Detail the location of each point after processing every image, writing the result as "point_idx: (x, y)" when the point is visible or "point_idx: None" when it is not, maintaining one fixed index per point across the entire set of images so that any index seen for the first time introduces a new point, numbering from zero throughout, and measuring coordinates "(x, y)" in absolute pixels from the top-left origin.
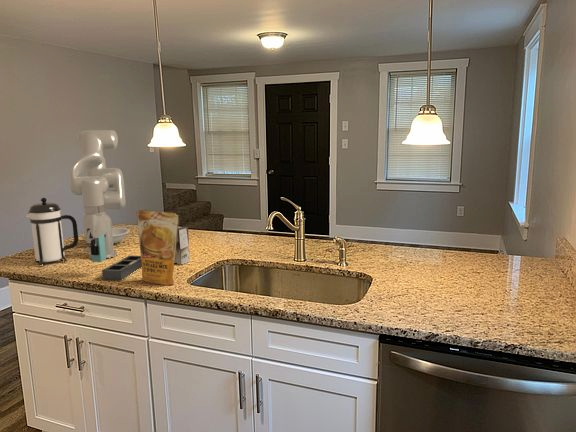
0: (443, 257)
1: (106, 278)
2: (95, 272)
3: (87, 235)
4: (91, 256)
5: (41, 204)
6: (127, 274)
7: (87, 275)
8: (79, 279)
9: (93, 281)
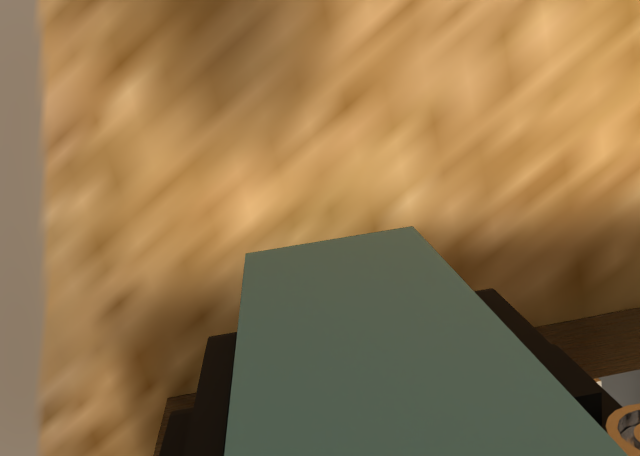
0: None
1: None
2: (385, 115)
3: None
4: (242, 287)
5: None
6: None
7: (255, 102)
8: (89, 121)
9: (87, 339)
